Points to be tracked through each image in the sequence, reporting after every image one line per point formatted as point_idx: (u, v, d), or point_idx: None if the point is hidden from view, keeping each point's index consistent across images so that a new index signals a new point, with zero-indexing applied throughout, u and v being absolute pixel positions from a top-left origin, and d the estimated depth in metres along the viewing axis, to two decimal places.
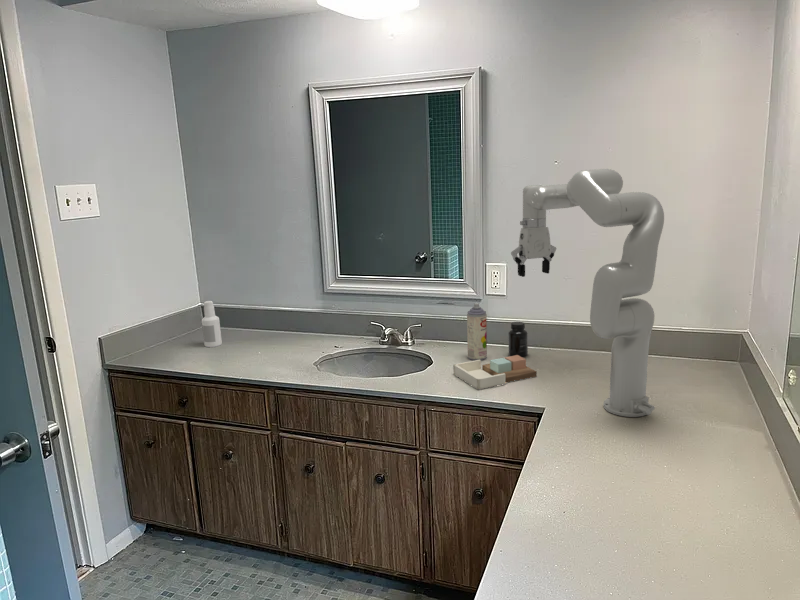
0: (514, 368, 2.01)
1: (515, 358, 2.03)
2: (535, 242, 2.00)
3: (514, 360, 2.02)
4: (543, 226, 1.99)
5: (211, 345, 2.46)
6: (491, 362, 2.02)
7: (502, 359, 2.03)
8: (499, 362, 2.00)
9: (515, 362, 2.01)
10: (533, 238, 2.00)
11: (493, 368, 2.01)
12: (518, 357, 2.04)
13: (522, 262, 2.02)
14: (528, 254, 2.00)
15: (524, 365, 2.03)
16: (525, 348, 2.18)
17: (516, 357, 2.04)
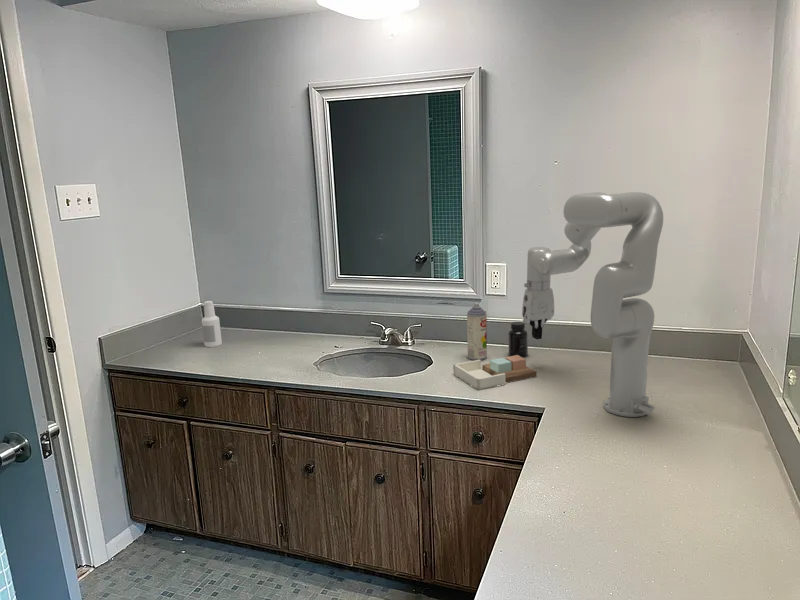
0: (514, 368, 2.01)
1: (515, 358, 2.03)
2: (539, 304, 2.00)
3: (514, 360, 2.02)
4: (547, 289, 1.99)
5: (211, 345, 2.46)
6: (491, 362, 2.02)
7: (502, 359, 2.03)
8: (499, 362, 2.00)
9: (515, 362, 2.01)
10: (537, 300, 2.00)
11: (493, 368, 2.01)
12: (518, 357, 2.04)
13: (537, 325, 2.04)
14: (532, 316, 2.00)
15: (524, 365, 2.03)
16: (525, 348, 2.18)
17: (516, 357, 2.04)
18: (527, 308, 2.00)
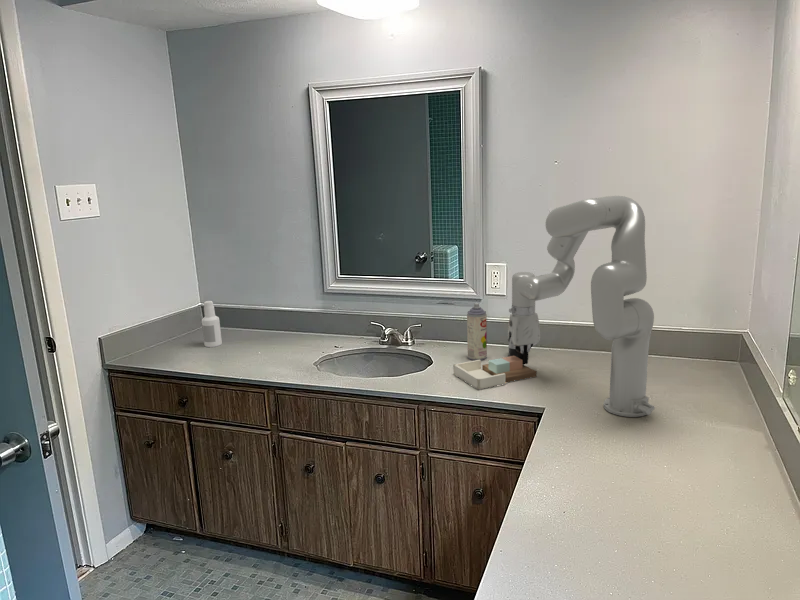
0: (510, 369, 2.01)
1: (511, 359, 2.03)
2: (524, 329, 1.99)
3: (510, 361, 2.01)
4: (532, 314, 1.99)
5: (211, 345, 2.46)
6: (489, 362, 2.02)
7: (500, 359, 2.03)
8: (497, 363, 2.00)
9: (511, 363, 2.00)
10: (522, 326, 1.99)
11: (491, 368, 2.01)
12: (515, 358, 2.04)
13: (522, 350, 2.03)
14: (517, 342, 1.99)
15: (521, 366, 2.02)
16: None
17: (512, 358, 2.04)
18: (512, 333, 2.00)
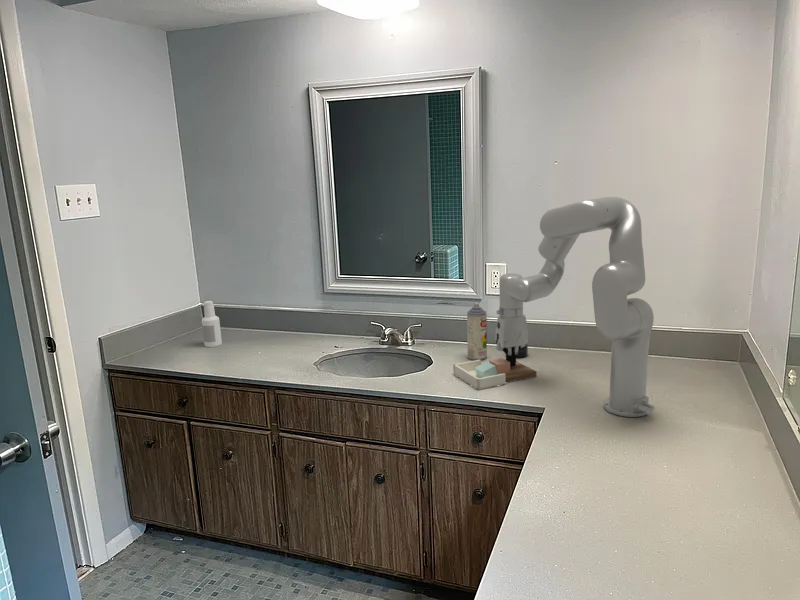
0: (498, 371, 1.99)
1: (499, 361, 2.01)
2: (511, 331, 1.98)
3: (498, 363, 1.99)
4: (520, 316, 1.97)
5: (211, 345, 2.46)
6: (476, 369, 2.00)
7: (486, 363, 2.01)
8: (483, 369, 1.98)
9: (499, 365, 1.99)
10: (510, 328, 1.97)
11: (479, 375, 2.00)
12: (502, 360, 2.02)
13: (510, 353, 2.01)
14: (504, 344, 1.98)
15: (508, 368, 2.00)
16: (525, 348, 2.18)
17: (500, 360, 2.02)
18: (500, 335, 1.98)
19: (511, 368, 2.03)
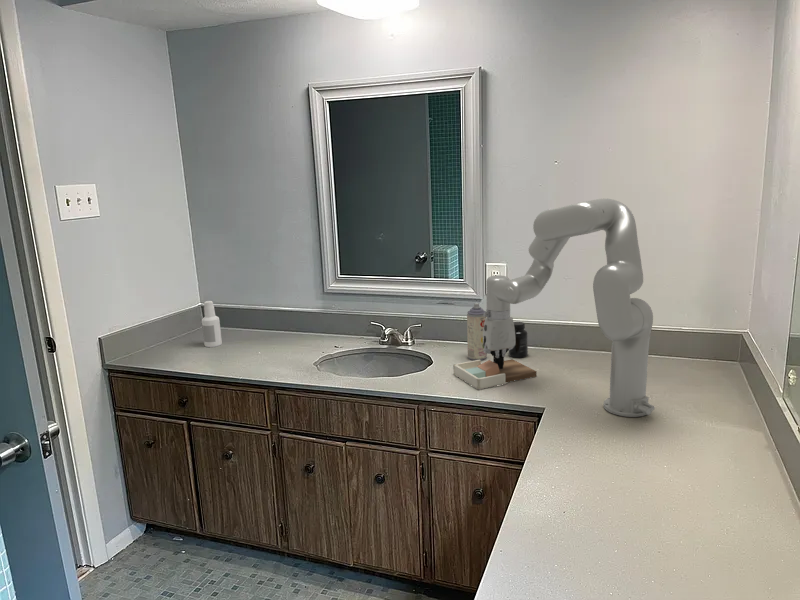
0: None
1: (487, 365, 2.00)
2: (498, 334, 1.96)
3: (486, 368, 1.98)
4: (507, 318, 1.95)
5: (211, 345, 2.46)
6: None
7: (476, 368, 1.99)
8: (473, 372, 1.96)
9: (487, 370, 1.97)
10: (497, 330, 1.95)
11: None
12: (490, 363, 2.00)
13: (498, 355, 1.99)
14: (492, 346, 1.96)
15: (497, 370, 1.99)
16: (525, 348, 2.18)
17: (487, 364, 2.00)
18: (487, 338, 1.96)
19: (511, 368, 2.03)
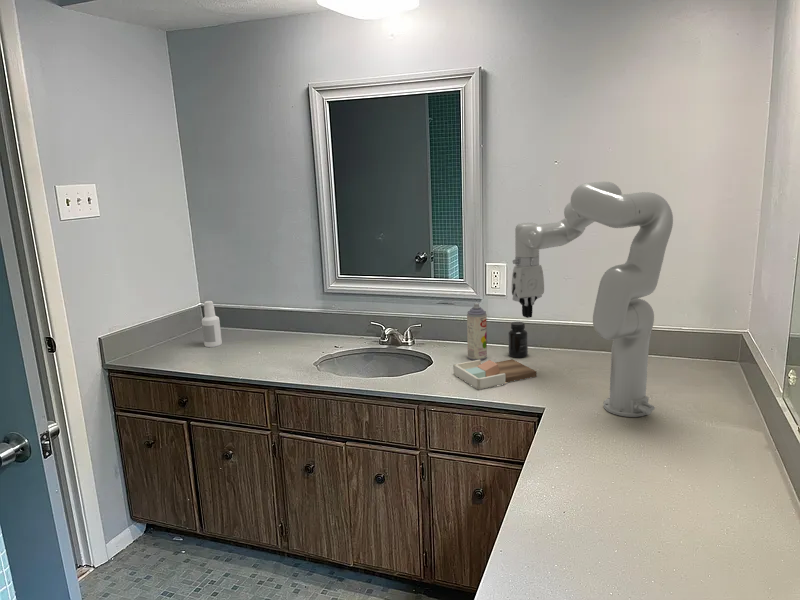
0: None
1: (487, 365, 2.00)
2: (528, 281, 1.96)
3: (486, 368, 1.98)
4: (536, 265, 1.95)
5: (211, 345, 2.46)
6: None
7: (476, 368, 1.99)
8: (473, 372, 1.96)
9: (487, 370, 1.97)
10: (526, 277, 1.96)
11: None
12: (490, 363, 2.00)
13: (526, 303, 1.99)
14: (521, 293, 1.96)
15: (498, 370, 1.99)
16: (525, 348, 2.18)
17: (487, 364, 2.00)
18: (516, 285, 1.96)
19: (511, 368, 2.03)
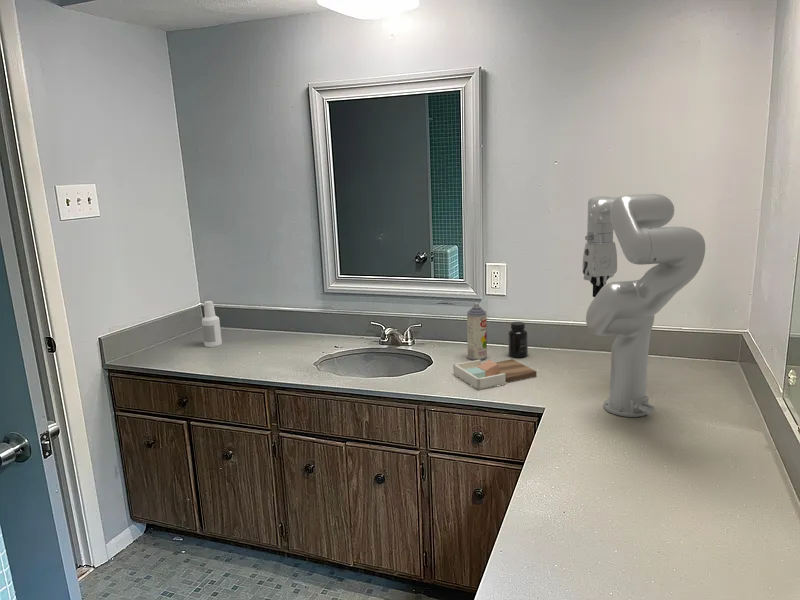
0: None
1: (487, 365, 2.00)
2: (601, 258, 1.84)
3: (486, 368, 1.98)
4: (611, 241, 1.83)
5: (211, 345, 2.46)
6: None
7: (476, 368, 1.99)
8: (473, 372, 1.96)
9: (487, 370, 1.97)
10: (600, 254, 1.83)
11: None
12: (490, 363, 2.00)
13: (598, 283, 1.87)
14: (594, 272, 1.83)
15: (498, 370, 1.99)
16: (525, 348, 2.18)
17: (487, 364, 2.00)
18: (589, 263, 1.84)
19: (511, 368, 2.03)
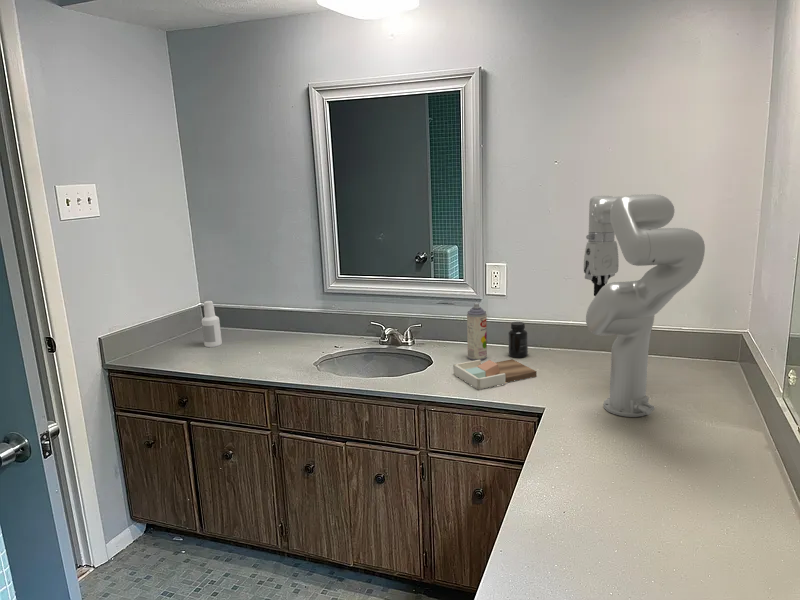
0: None
1: (487, 365, 2.00)
2: (602, 258, 1.83)
3: (486, 368, 1.98)
4: (612, 240, 1.83)
5: (211, 345, 2.46)
6: None
7: (476, 368, 1.99)
8: (473, 372, 1.96)
9: (487, 370, 1.97)
10: (601, 254, 1.83)
11: None
12: (490, 363, 2.00)
13: (600, 282, 1.87)
14: (595, 271, 1.83)
15: (498, 370, 1.99)
16: (525, 348, 2.18)
17: (487, 364, 2.00)
18: (590, 262, 1.84)
19: (511, 368, 2.03)
